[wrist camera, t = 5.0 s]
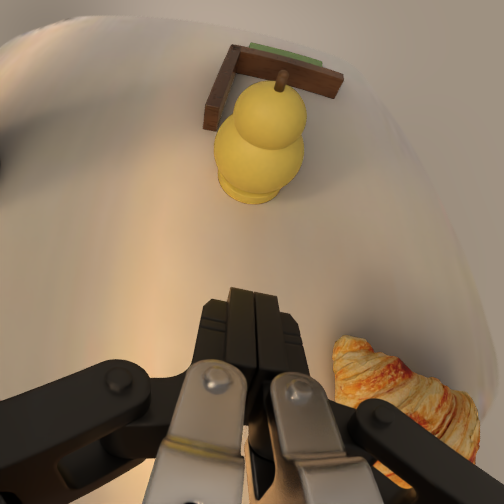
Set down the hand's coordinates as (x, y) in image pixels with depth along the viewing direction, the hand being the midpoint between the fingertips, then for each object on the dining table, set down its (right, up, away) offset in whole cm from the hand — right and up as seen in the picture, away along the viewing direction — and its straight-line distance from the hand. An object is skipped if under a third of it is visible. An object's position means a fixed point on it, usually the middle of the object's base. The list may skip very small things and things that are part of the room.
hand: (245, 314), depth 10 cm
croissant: (+12, -12, +9) cm, 20 cm away
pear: (0, +8, +15) cm, 17 cm away
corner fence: (+3, +16, +19) cm, 25 cm away
